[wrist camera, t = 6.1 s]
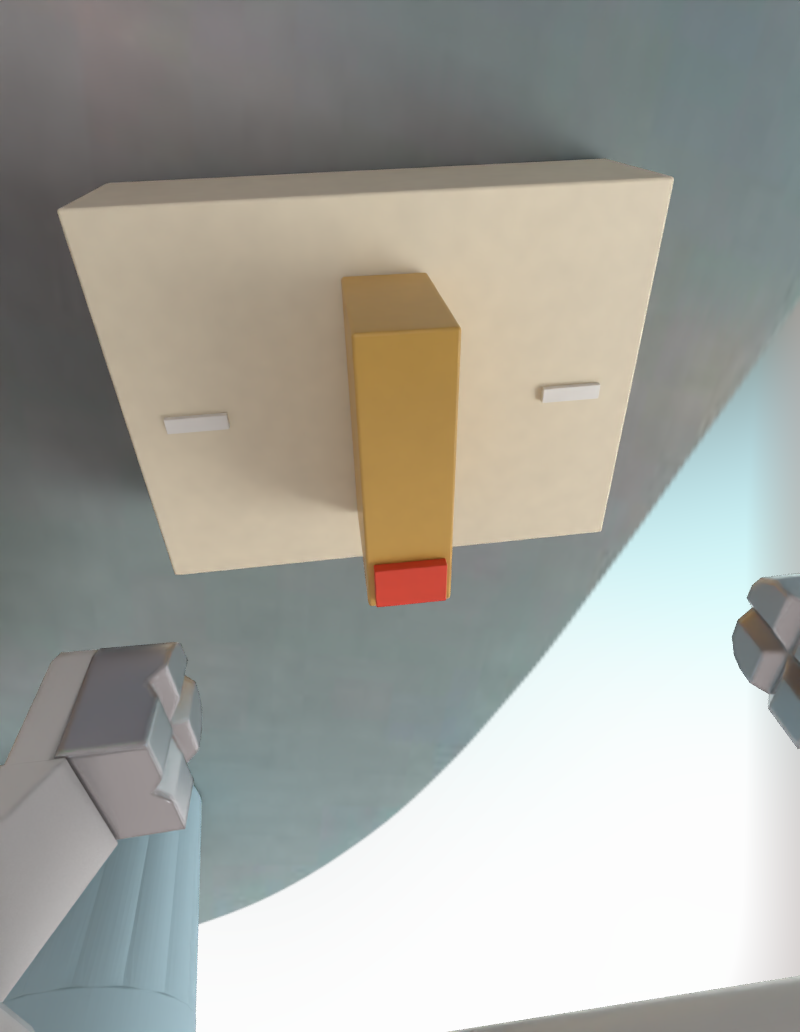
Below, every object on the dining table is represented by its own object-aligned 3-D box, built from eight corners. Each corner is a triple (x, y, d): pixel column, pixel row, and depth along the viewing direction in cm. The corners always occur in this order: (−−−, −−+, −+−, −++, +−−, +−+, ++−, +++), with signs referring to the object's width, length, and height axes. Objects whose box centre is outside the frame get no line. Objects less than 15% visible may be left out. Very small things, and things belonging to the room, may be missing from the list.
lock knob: (340, 276, 12) (351, 339, 9) (427, 272, 13) (465, 331, 10) (357, 514, 16) (369, 615, 13) (425, 508, 16) (453, 606, 13)
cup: (22, 760, 25) (-115, 1096, 17) (211, 742, 26) (168, 1052, 18) (74, 850, 30) (-15, 1151, 22) (234, 831, 31) (209, 1114, 22)
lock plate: (606, 158, 15) (679, 177, 12) (561, 469, 20) (604, 535, 17) (105, 182, 14) (51, 210, 11) (193, 503, 19) (173, 580, 16)
